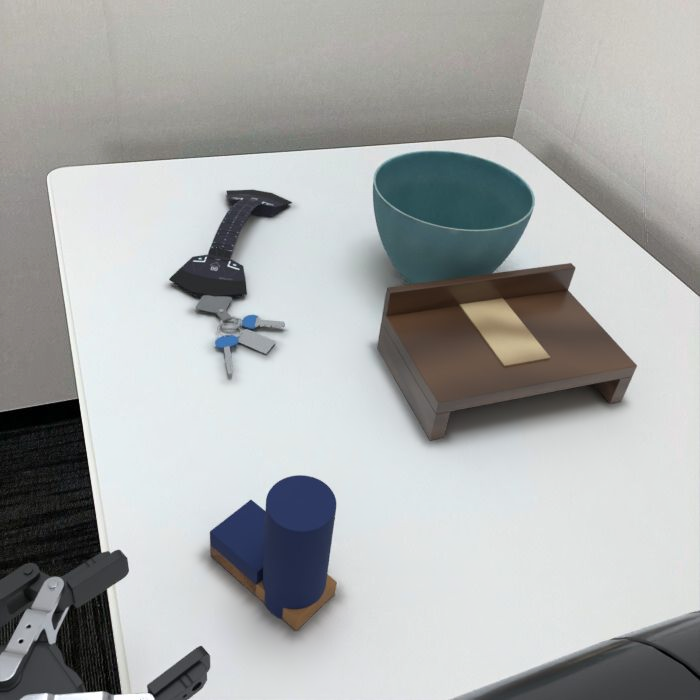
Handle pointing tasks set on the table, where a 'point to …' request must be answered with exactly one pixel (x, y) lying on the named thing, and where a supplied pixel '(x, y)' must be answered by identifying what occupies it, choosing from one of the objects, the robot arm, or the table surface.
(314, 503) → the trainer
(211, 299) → the key chain
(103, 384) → the table surface
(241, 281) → the dark piece
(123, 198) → the table surface
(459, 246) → the teal bowl
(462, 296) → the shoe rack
